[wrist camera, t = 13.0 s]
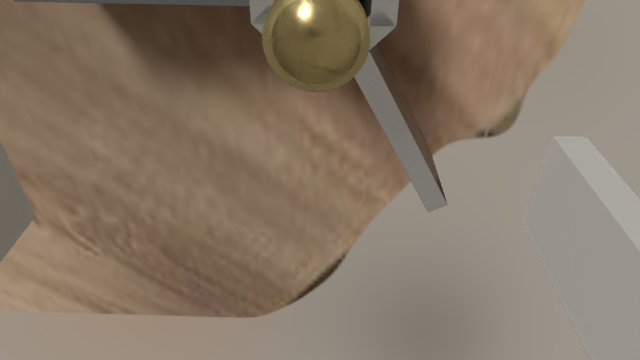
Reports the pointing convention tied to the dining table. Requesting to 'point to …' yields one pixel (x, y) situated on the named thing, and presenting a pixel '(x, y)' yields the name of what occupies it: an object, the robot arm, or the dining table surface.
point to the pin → (316, 42)
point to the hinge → (372, 81)
